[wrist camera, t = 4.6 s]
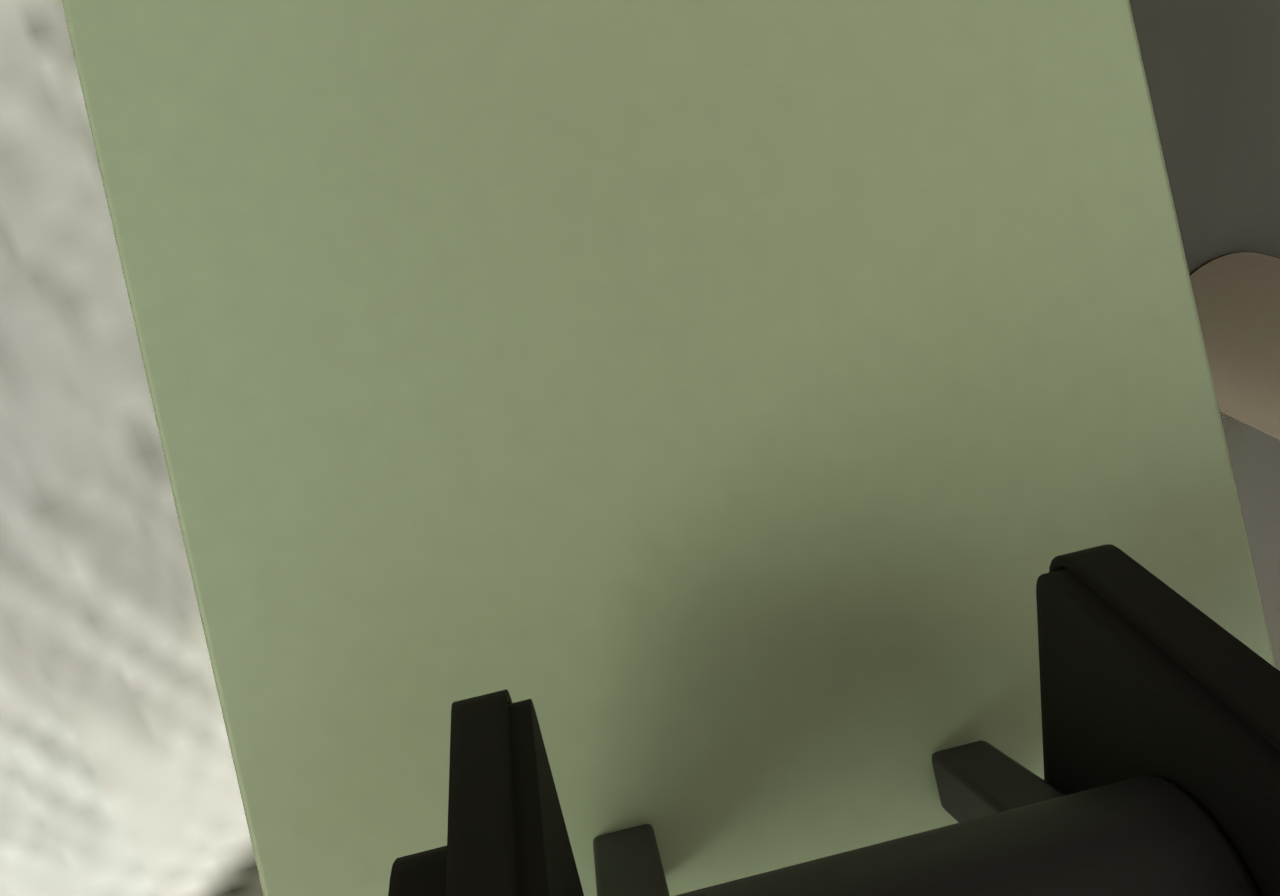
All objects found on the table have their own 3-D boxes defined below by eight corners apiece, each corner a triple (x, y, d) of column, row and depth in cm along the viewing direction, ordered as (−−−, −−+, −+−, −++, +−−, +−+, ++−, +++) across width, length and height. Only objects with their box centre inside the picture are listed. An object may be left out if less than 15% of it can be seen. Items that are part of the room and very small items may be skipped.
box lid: (1278, 846, 13) (1796, 1127, 8) (332, 1096, 12) (141, 1618, 7) (1026, -302, 13) (1364, -859, 8) (55, -134, 12) (-367, -625, 7)
